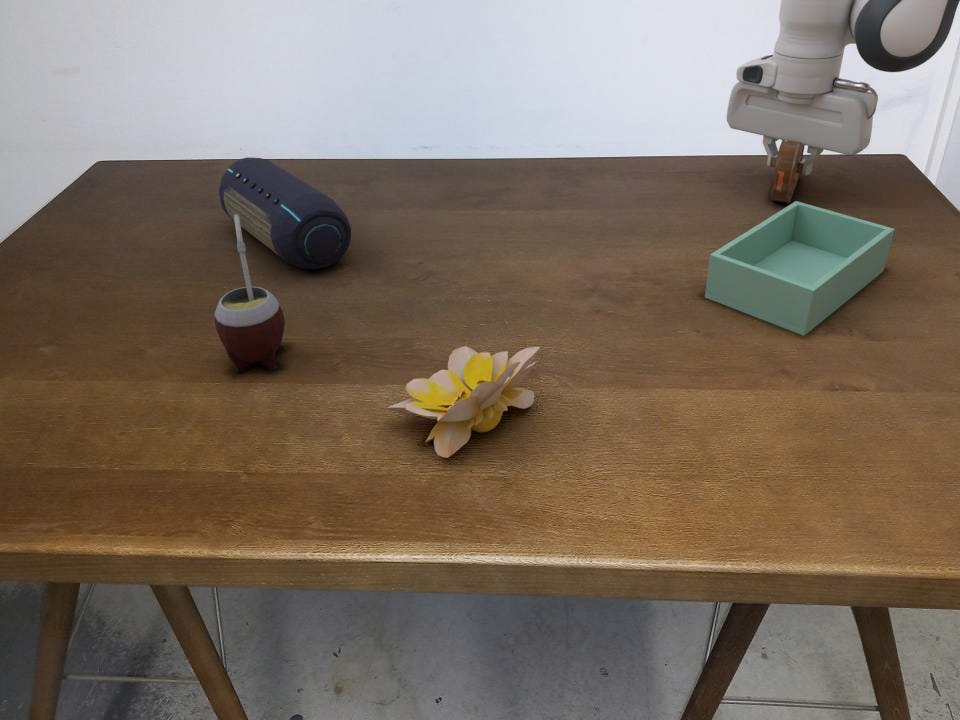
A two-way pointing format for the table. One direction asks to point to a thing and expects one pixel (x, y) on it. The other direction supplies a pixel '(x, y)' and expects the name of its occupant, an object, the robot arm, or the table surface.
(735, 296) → the bin
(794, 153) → the tin
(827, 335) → the table surface
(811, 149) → the robot arm
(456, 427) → the decorative flower
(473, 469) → the table surface
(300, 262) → the portable speaker
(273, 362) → the mate gourd
